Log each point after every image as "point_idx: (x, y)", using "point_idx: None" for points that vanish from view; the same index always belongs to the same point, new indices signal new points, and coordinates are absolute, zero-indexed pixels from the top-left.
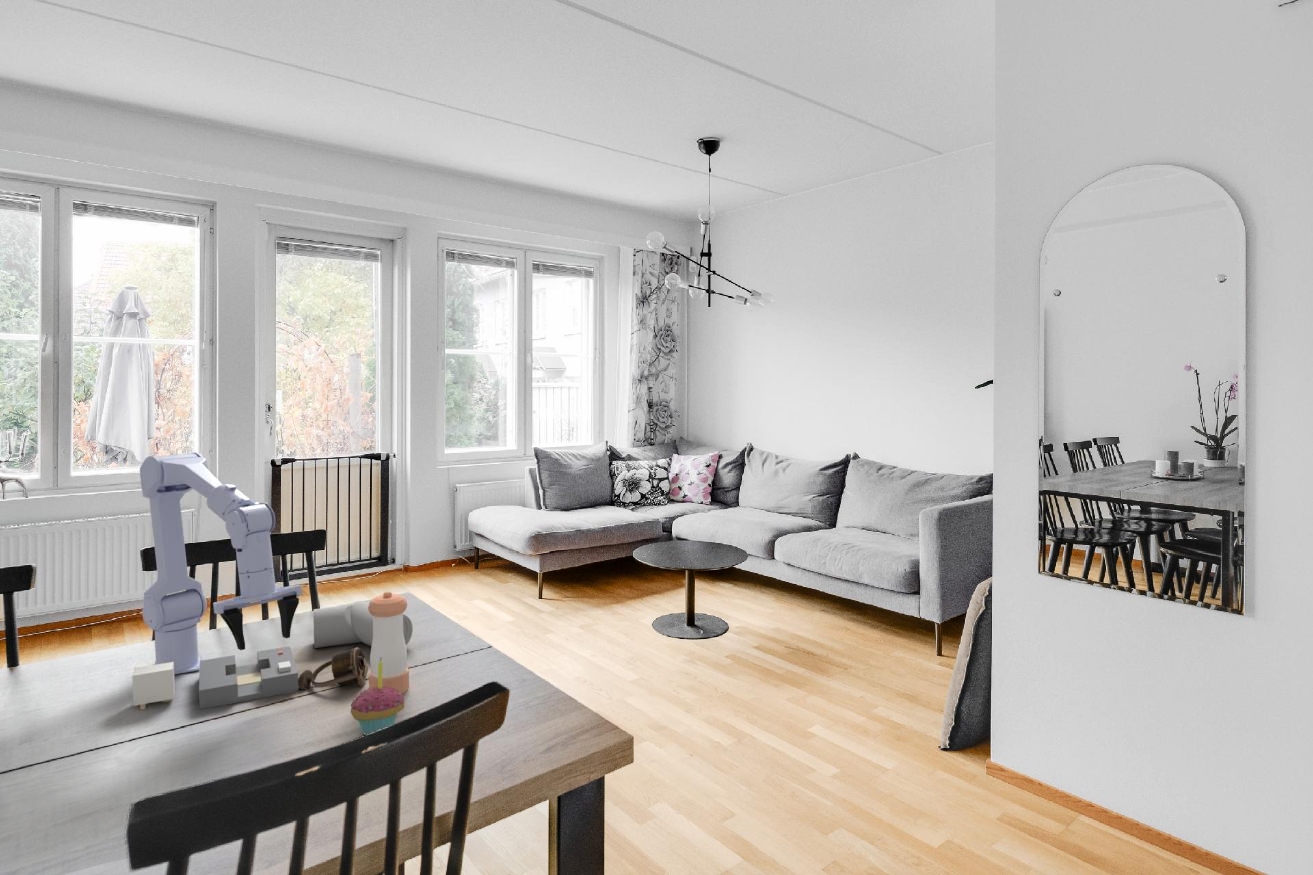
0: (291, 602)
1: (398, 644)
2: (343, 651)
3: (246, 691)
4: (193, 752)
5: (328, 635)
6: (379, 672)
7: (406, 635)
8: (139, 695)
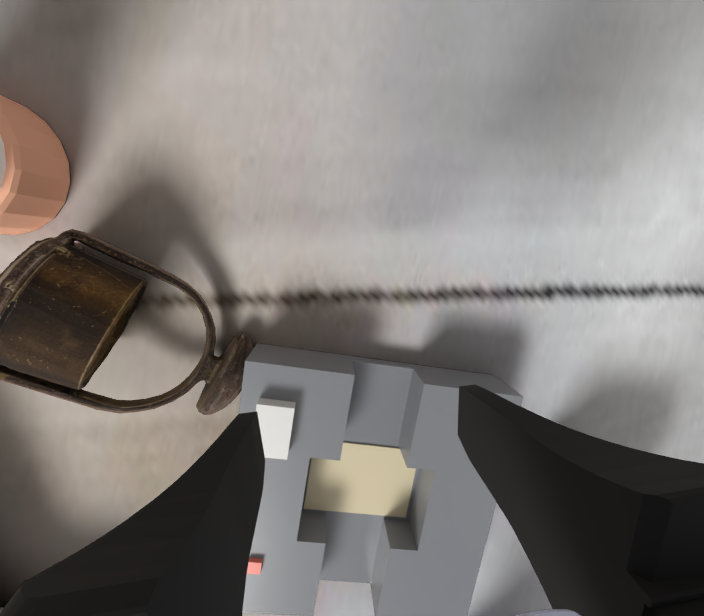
0: (93, 589)
1: None
2: (44, 356)
3: (386, 392)
4: (568, 111)
5: None
6: None
7: None
8: None
